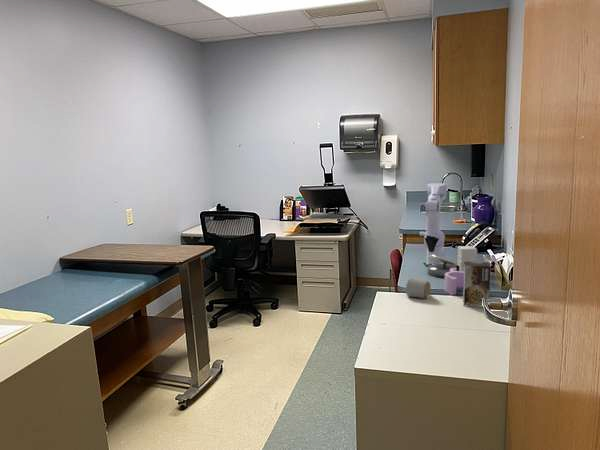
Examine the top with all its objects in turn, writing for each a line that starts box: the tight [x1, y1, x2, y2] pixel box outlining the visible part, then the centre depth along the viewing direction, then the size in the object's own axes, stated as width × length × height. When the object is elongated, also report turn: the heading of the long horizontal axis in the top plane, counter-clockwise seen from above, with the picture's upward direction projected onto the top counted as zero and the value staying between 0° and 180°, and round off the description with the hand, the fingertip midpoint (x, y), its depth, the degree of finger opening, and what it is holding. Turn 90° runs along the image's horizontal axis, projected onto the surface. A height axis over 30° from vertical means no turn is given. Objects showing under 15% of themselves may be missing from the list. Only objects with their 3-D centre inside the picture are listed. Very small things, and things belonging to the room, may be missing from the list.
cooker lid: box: [429, 255, 458, 267], centre depth 209 cm, size 14×14×2 cm
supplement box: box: [457, 245, 478, 272], centre depth 212 cm, size 7×7×13 cm
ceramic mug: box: [405, 277, 431, 299], centre depth 176 cm, size 11×8×8 cm
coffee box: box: [462, 261, 492, 308], centre depth 164 cm, size 9×6×16 cm
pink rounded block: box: [443, 267, 464, 296], centre depth 185 cm, size 20×12×7 cm, turn 162°
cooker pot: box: [424, 263, 460, 279], centre depth 209 cm, size 14×18×4 cm
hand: (431, 251), depth 214 cm, fingers closed
